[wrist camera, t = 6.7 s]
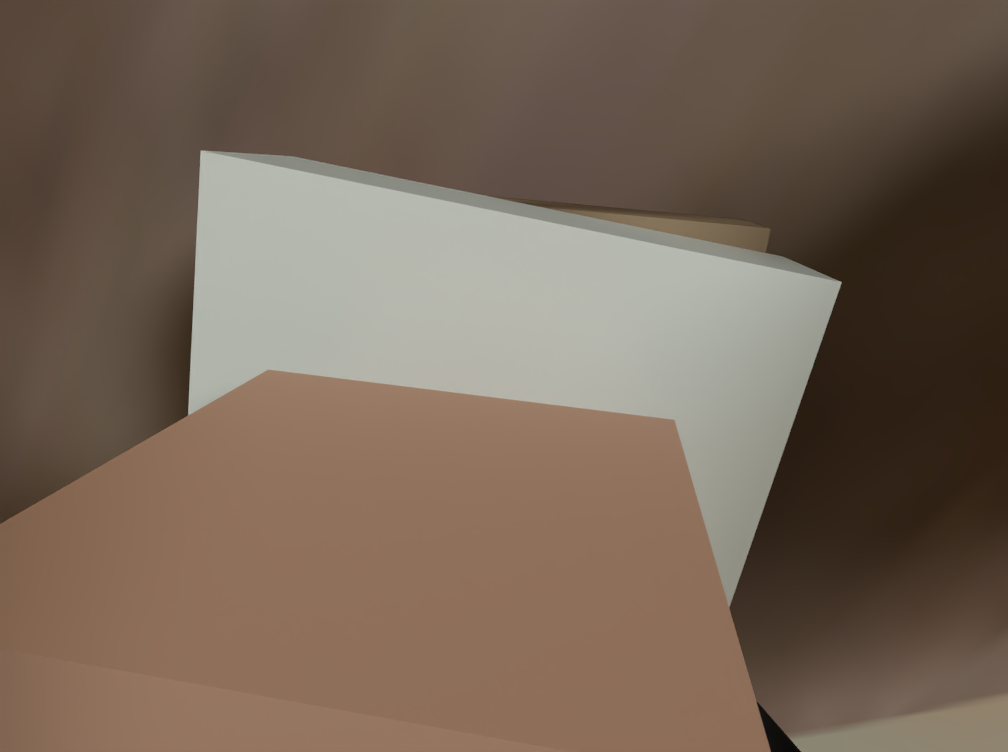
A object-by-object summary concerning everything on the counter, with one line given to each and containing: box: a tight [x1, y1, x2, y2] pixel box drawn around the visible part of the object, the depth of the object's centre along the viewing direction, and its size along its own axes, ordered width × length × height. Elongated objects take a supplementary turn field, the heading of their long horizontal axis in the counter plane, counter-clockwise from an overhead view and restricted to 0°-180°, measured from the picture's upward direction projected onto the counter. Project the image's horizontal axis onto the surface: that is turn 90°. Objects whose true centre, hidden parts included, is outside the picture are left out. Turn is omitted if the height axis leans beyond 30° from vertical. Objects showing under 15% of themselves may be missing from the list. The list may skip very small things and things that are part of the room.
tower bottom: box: [489, 196, 771, 253], centre depth 15 cm, size 9×9×3 cm
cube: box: [0, 370, 771, 752], centre depth 7 cm, size 5×5×5 cm
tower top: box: [188, 151, 842, 607], centre depth 12 cm, size 9×9×3 cm
